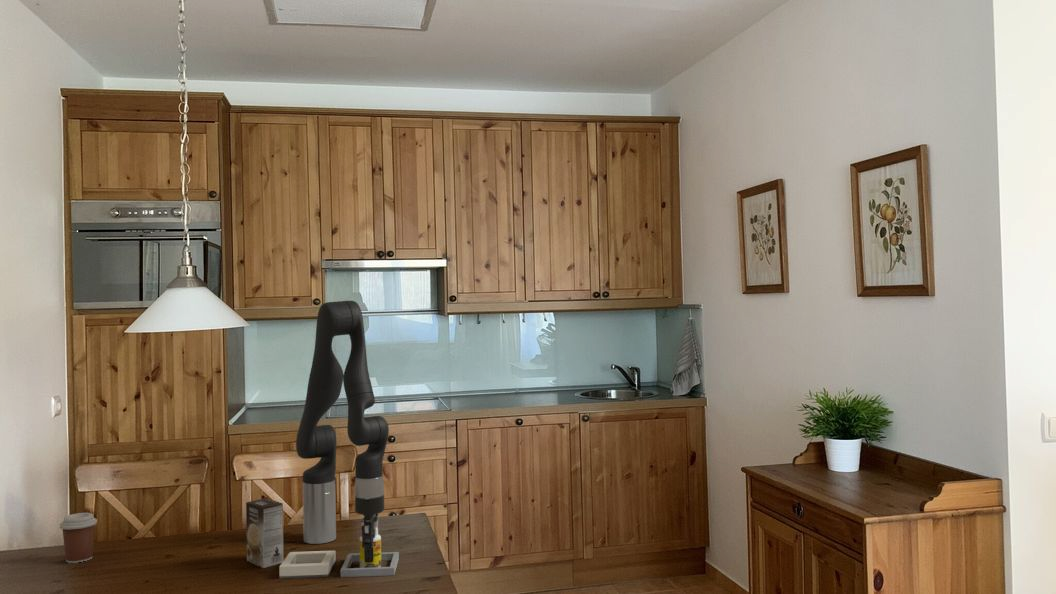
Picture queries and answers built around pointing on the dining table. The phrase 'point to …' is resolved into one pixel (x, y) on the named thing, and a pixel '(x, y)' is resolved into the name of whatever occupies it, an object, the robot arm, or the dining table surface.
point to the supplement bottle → (376, 552)
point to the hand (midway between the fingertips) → (370, 557)
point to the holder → (307, 564)
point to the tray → (372, 571)
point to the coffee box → (264, 532)
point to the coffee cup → (78, 536)
